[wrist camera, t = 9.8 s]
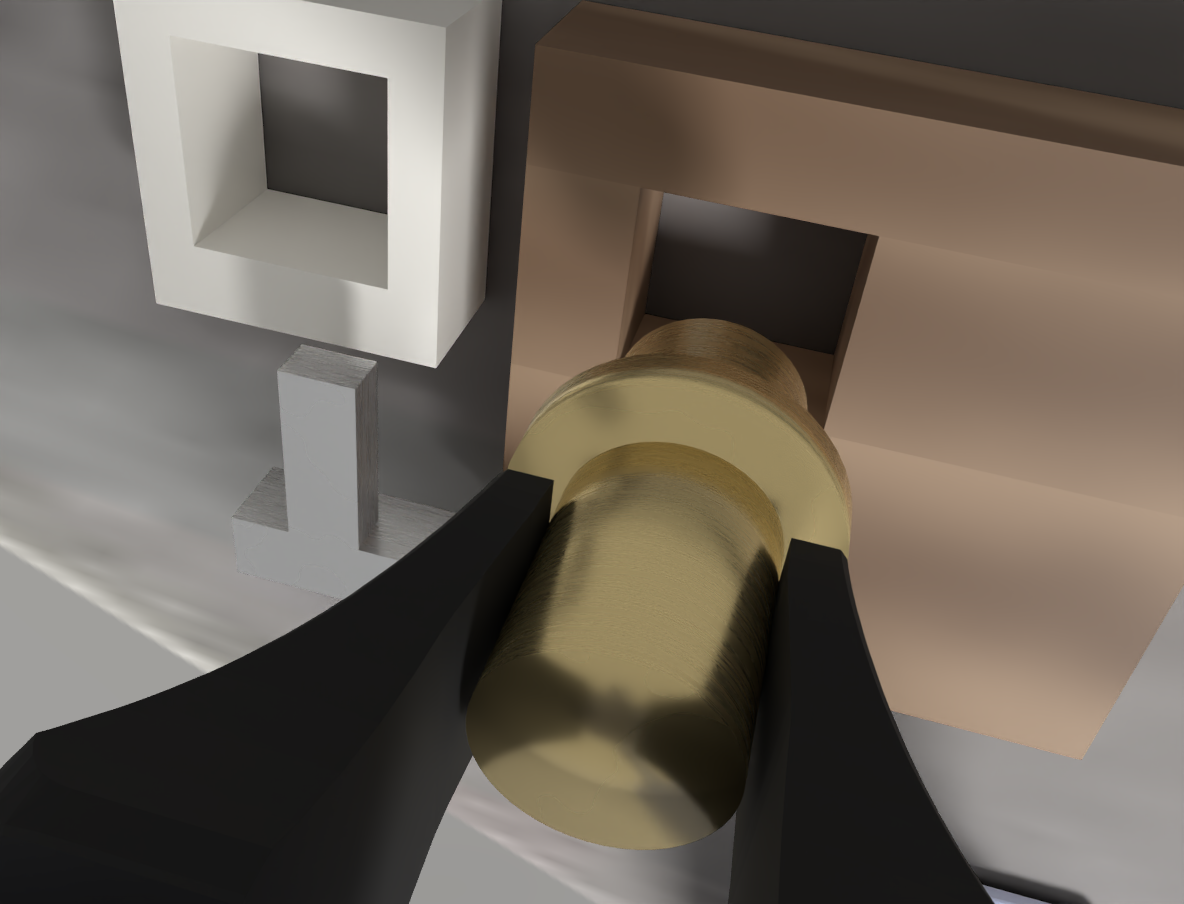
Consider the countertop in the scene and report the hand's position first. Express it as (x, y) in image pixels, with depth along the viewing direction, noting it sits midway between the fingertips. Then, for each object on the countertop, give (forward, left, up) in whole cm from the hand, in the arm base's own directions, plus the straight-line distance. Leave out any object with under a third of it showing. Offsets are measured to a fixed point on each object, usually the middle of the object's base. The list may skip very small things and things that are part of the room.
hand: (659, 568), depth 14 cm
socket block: (-2, -3, -10) cm, 10 cm away
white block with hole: (+1, +9, -10) cm, 13 cm away
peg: (0, 0, -1) cm, 1 cm away
